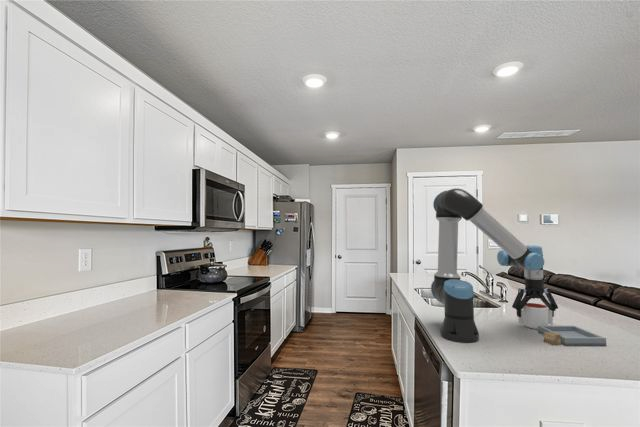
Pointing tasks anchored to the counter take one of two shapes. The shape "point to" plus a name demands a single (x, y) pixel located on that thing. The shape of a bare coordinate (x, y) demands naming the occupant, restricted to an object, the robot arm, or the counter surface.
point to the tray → (574, 336)
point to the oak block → (552, 338)
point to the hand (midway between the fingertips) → (535, 324)
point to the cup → (535, 315)
